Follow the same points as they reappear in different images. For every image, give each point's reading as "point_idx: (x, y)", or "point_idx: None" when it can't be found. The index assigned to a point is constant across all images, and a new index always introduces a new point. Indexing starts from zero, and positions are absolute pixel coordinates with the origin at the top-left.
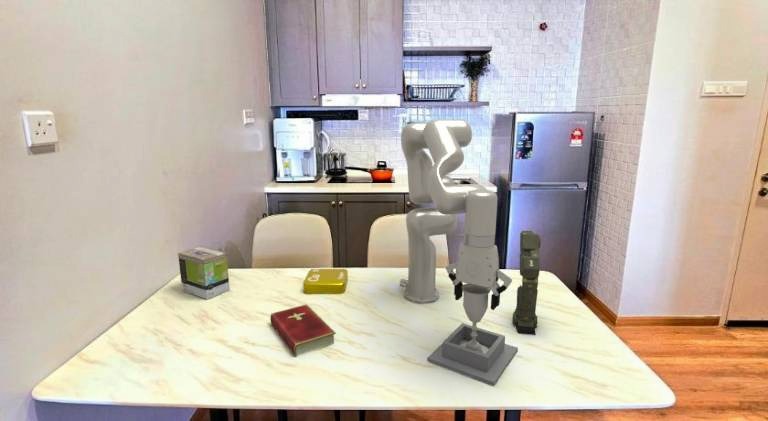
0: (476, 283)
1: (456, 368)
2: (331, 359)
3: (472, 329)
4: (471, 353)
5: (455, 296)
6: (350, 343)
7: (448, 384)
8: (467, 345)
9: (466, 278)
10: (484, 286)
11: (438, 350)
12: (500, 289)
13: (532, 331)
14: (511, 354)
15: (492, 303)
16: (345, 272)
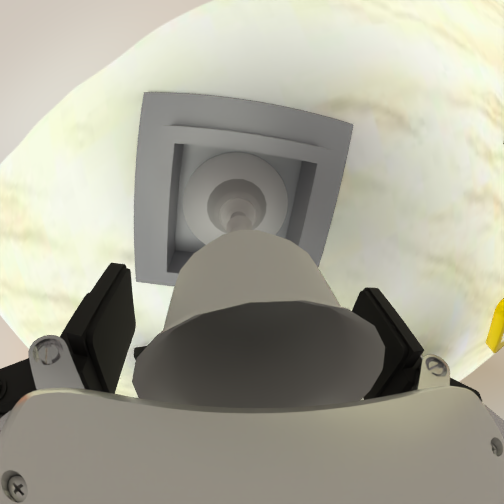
0: (242, 436)
1: (261, 102)
2: (492, 91)
3: (246, 227)
4: (222, 130)
5: (385, 299)
6: (488, 151)
7: (263, 46)
8: (255, 201)
9: (411, 446)
10: (102, 401)
11: (334, 171)
12: (16, 384)
13: (138, 353)
14: (138, 244)
15: (102, 288)
16: (498, 345)
